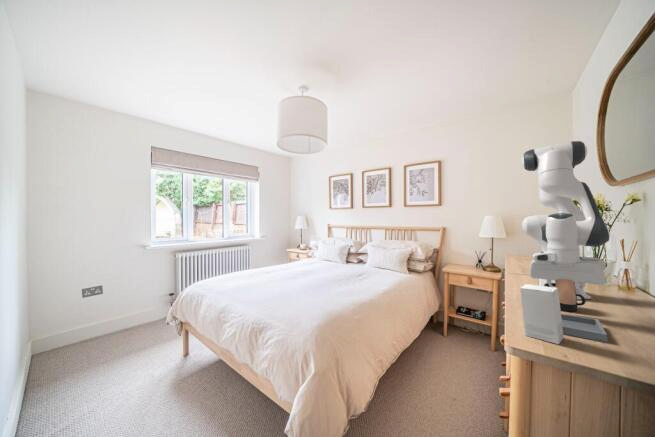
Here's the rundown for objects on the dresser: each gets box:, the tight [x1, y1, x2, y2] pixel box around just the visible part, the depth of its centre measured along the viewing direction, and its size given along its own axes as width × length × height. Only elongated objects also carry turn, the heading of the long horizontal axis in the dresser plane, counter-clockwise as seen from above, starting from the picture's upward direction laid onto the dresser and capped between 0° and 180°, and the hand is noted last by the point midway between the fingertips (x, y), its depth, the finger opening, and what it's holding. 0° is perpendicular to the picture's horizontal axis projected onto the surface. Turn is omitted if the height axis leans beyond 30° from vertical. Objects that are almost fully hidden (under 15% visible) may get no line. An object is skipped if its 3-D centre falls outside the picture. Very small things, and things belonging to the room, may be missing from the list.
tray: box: [561, 313, 609, 344], centre depth 79 cm, size 14×14×2 cm
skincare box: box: [519, 283, 564, 345], centre depth 74 cm, size 8×7×16 cm
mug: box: [544, 283, 587, 313], centre depth 96 cm, size 9×12×9 cm
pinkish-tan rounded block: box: [555, 279, 576, 305], centre depth 89 cm, size 5×5×9 cm
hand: (565, 292), depth 89 cm, fingers closed on pinkish-tan rounded block, 5 cm apart
